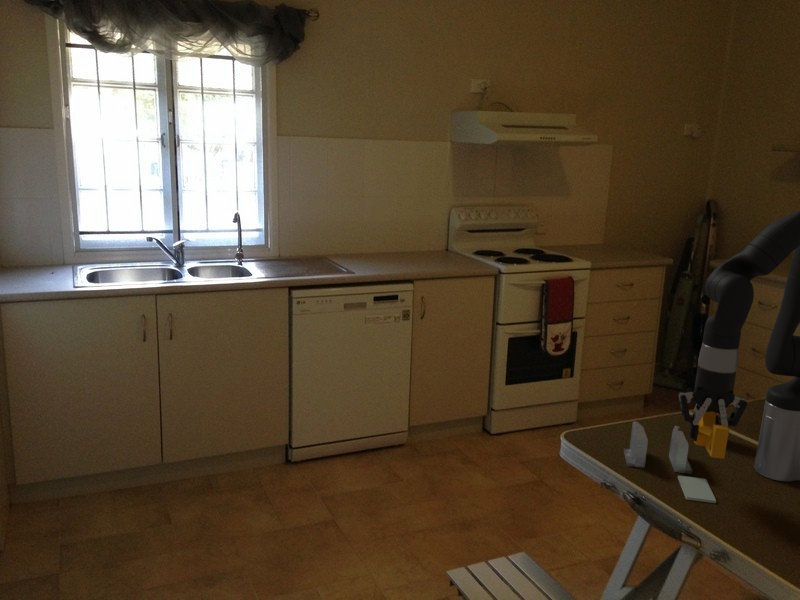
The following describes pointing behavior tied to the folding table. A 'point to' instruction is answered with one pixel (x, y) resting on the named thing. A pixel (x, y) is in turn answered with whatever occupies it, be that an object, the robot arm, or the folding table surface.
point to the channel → (639, 449)
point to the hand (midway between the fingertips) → (706, 440)
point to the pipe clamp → (712, 435)
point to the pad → (696, 489)
